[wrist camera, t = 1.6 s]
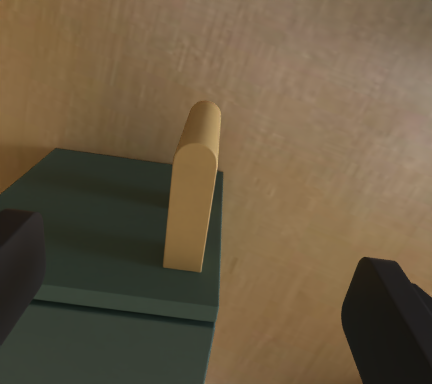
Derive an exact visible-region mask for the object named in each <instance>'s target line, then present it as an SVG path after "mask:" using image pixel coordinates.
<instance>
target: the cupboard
mask: <svg viewBox="0 0 432 384" xmlns="http://www.w3.org/2000/svg"><path fill="white" fill-rule="evenodd" d="M214 331H215V322H209V321H201V320H193V319H185V318H178V317H170V316H162V315H154V314H146V313H139V312H131V311H123V310H115V309H107V308H100V307H92V306H84V305H76V304H68V303H61V302H53V301H45V300H37V299H32V301H31V302H30V304H29V305H28V307H27V308H26V310H25V311H24V313H23V314H22V316H21V317H20V319H19V320H18V322H17V323H16V325H15V326H14V328H13V329H12V331H11V332H10V334H9V335H8V337H7V338H6V340H5V341H4V342H3V344H2V345H1V347H0V384H204V383H205V378H206V372H207V367H208V362H209V357H210V352H211V347H212V342H213V336H214Z"/></svg>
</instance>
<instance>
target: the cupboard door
mask: <svg viewBox="0 0 432 384" xmlns="http://www.w3.org/2000/svg"><path fill="white" fill-rule="evenodd" d="M220 125H221V112H220V110H219V108H218V106H217V105H216V104H214V103H213V102H210V101H199V102H197V103H196V104H195V105H194V106H193V107H192V108H191V110H190V113H189V116H188V119H187V121H186V124H185V127H184V130H183V133H182V135H181V138H180V141H179V144H178V147H177V149H176V152H175V155H174V158H173V165H170V164H163V163H156V162H149V161H142V160H135V159H128V158H121V157H114V156H108V155H101V154H94V153H87V152H80V151H73V150H66V149H59V148H55V149H54V150H53V151H52V152H51V153H49V154H48V155H47V156H46V157H45V158H43V159H42V160H41V161H40V162H39V163H37V164H36V165H35V166H34V167H33V168H31V169H30V170H29V171H28V172H27V173H25V174H24V175H23V176H22V177H21V178H19V179H18V180H17V181H16V182H15V183H13V184H12V185H11V186H10V187H9V188H7V189H6V190H5V191H4V192H3V193H1V194H0V212H1V211H2V210H4V209H6V208H10V209H18V210H25V211H33V212H39V213H40V214H41V215H42V218H43V224H44V239H45V253H46V272H45V277H44V280H43V283H42V285H41V287H40V289H39V291H38V292H37V294H36V295H35V296H34V298H33V299H37V300H45V301H53V302H61V303H68V304H76V305H84V306H92V307H100V308H107V309H115V310H123V311H131V312H139V313H146V314H154V315H162V316H170V317H178V318H185V319H193V320H201V321H209V322H216V320H217V314H218V309H219V288H220V258H221V228H222V197H223V172H219V171H217V167H218V153H219V139H220Z"/></svg>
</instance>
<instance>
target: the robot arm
mask: <svg viewBox="0 0 432 384" xmlns="http://www.w3.org/2000/svg"><path fill="white" fill-rule="evenodd" d="M45 272H46V253H45V239H44V224H43V218H42V215H41V214H40V213H39V212H33V211H25V210H18V209H10V208H6V209H4V210H2V211H1V212H0V347H1V345H2V344H3V342H4V341H5V340H6V338H7V337H8V335H9V334H10V332H11V331H12V329H13V328H14V326H15V325H16V323H17V322H18V320H19V319H20V317H21V316H22V314H23V313H24V311H25V310H26V308H27V307H28V305H29V304H30V302H31V301H32V299H33V298H34V296H35V295H36V294H37V292H38V291H39V289H40V287H41V285H42V283H43V280H44V277H45ZM341 320H342V327H343V330H344V333H345V335H346V338H347V341H348V344H349V346H350V349H351V352H352V355H353V357H354V360H355V363H356V366H357V368H358V371H359V374H360V377H361V379H362V382H363V384H432V298H431V297H430V296H429V295H428V294H427V293H426V292H424V291H423V290H422V289H421V288H420V287H418V286H417V285H416V284H413V283H411V282H410V281H409V279H408V278H407V276H406V275H405V273H404V272H403V270H402V269H401V267H400V266H399V264H398V263H397V262H395V261H392V260H384V259H377V258H369V257H363V258H362V259H361V260H360V261H359V263H358V265H357V268H356V270H355V273H354V275H353V278H352V281H351V283H350V286H349V289H348V291H347V294H346V297H345V299H344V302H343V305H342V312H341Z"/></svg>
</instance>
